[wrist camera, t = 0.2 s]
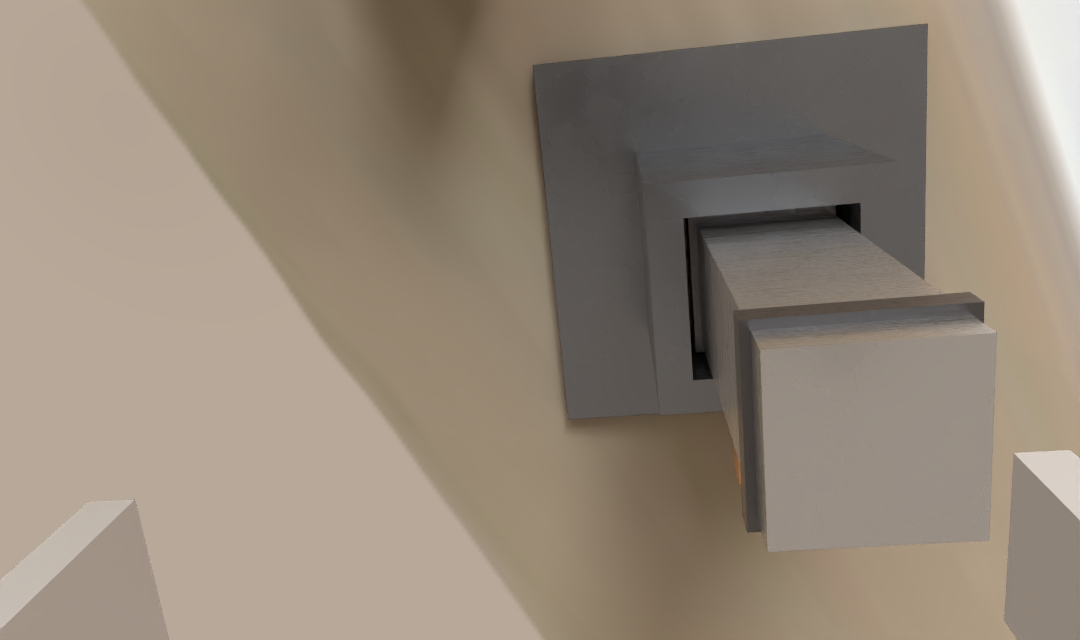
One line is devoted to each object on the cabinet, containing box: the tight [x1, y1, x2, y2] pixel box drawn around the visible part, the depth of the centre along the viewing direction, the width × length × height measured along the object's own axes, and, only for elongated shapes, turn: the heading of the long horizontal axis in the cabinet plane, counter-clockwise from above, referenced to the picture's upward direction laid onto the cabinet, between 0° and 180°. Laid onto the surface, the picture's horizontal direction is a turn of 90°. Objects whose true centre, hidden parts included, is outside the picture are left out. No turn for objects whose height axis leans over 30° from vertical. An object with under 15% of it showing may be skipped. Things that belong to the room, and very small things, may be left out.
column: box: [683, 205, 997, 552], centre depth 29 cm, size 5×5×22 cm
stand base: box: [533, 24, 928, 485], centre depth 35 cm, size 16×16×12 cm
